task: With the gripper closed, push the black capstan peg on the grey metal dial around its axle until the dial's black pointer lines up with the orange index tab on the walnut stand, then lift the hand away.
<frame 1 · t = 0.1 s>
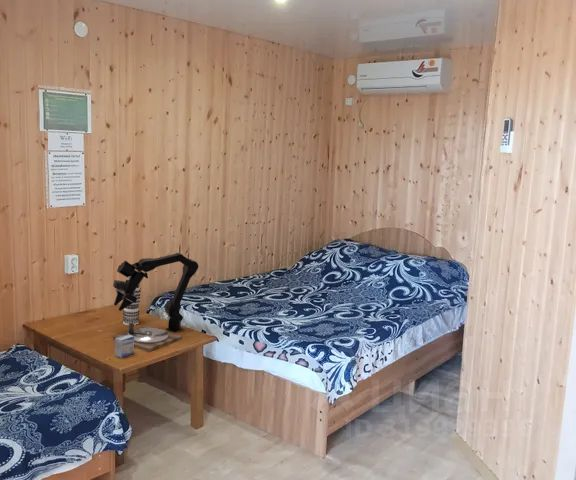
hand: (117, 307, 288), 15 cm above the table, tool tilted 30°, fingers open, 9 cm apart
walnut stand: (148, 339, 290), on the table
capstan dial: (148, 330, 289), point 5 cm above the table, hinge at -55.0°
medicine box: (124, 355, 268), on the table
decorative candle: (130, 323, 312), on the table
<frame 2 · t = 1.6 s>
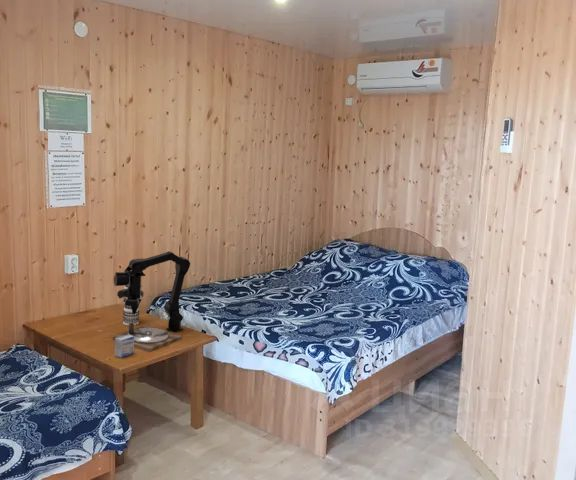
hand: (134, 313, 293), 11 cm above the table, tool pointing down, fingers closed
nothing on the table moved.
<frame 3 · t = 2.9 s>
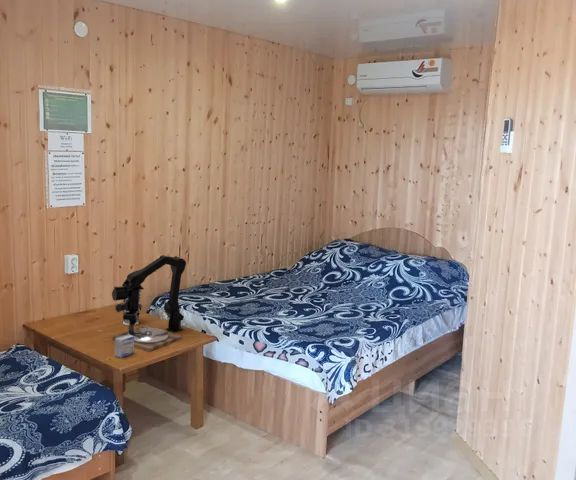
hand: (132, 327, 291), 5 cm above the table, tool pointing down, fingers closed
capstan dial: (148, 330, 289), point 5 cm above the table, hinge at -55.0°, touching gripper
everything else where it was.
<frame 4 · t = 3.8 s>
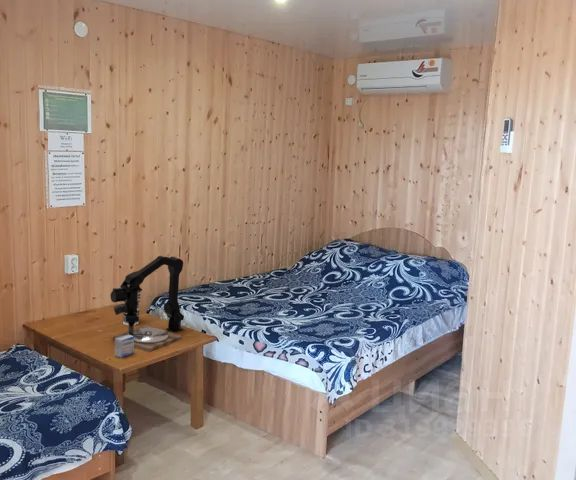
hand: (130, 329, 289), 5 cm above the table, tool pointing down, fingers closed
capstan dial: (148, 330, 289), point 5 cm above the table, hinge at -40.5°, touching gripper
everything else where it was.
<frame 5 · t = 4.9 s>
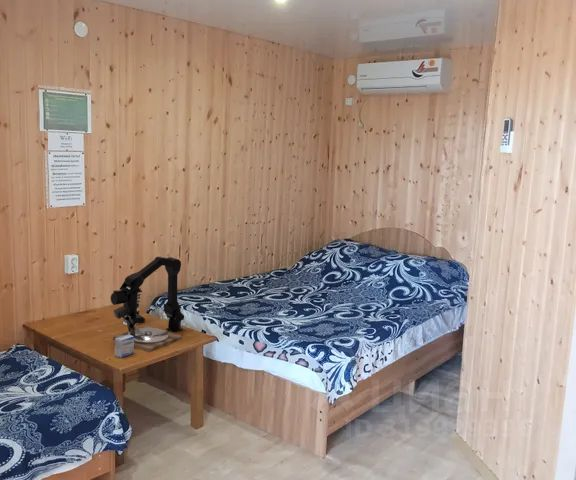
hand: (129, 331, 285), 5 cm above the table, tool pointing down, fingers closed
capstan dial: (148, 330, 289), point 5 cm above the table, hinge at -18.9°, touching gripper
everything else where it was.
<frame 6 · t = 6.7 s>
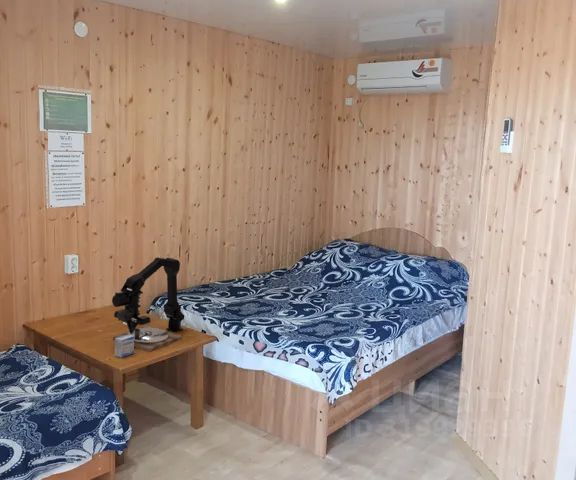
hand: (131, 333, 283), 5 cm above the table, tool pointing down, fingers closed
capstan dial: (148, 330, 289), point 5 cm above the table, hinge at 4.4°
everything else where it was.
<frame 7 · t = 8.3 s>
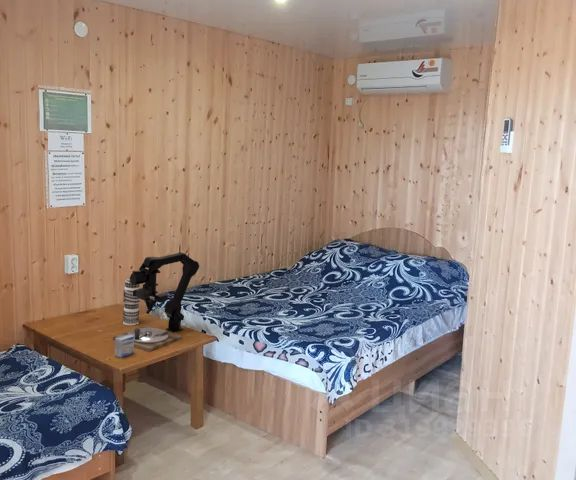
hand: (149, 311, 293), 13 cm above the table, tool pointing down, fingers closed
nothing on the table moved.
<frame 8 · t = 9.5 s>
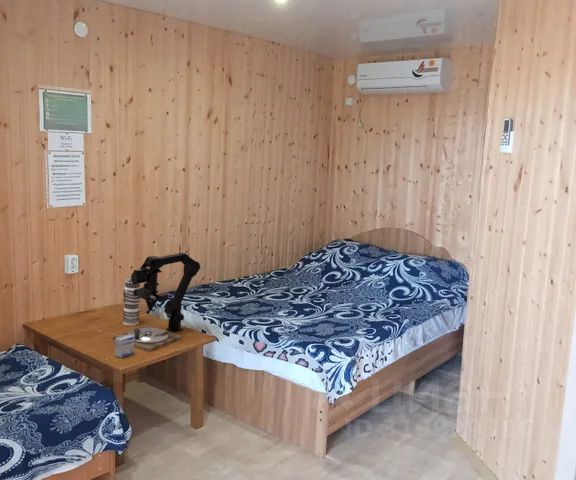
hand: (150, 310, 294), 13 cm above the table, tool pointing down, fingers closed
nothing on the table moved.
at the end: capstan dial at +4° (first picture: -55°); medicine box moved 0.3 cm from its start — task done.
